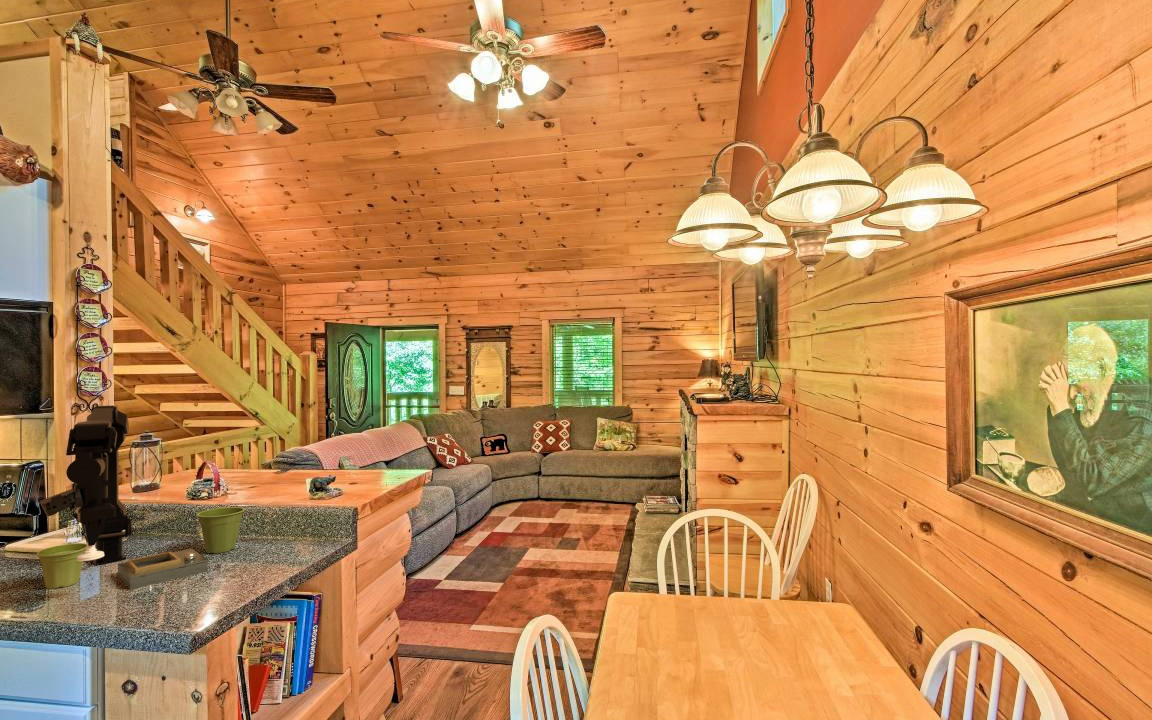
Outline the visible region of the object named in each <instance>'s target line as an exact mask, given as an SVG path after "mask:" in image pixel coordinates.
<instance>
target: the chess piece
mask: <svg viewBox="0 0 1152 720" xmlns="http://www.w3.org/2000/svg"><path fill="white" fill-rule="evenodd" d="M85 535H86V533H85ZM86 544H87V547H86V551H84V552H85V553H82V554H80V555H78V556H77V559H76V560H77V561H83V562H88V561H92V560H94V559H98V558H101V557H103V556H104V552H103V551H96V550H97V549H96V544H95V545H92V546H89V545H88V542H87V543H86Z"/></svg>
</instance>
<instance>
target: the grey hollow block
mask: <svg viewBox="0 0 1152 720" xmlns="http://www.w3.org/2000/svg"><path fill="white" fill-rule="evenodd" d="M208 559H209V558H208ZM208 559H207V557H205V556H204V555H203V554H201V553H199V552H198V551H196V550H195V549H193V548H188V549H183V550H182V549H181V550H178V551H173V552H172V551H168V552H161V553H158V554H152V555H149V556H144V557H138V558H133V559H128V560H126V561H125V562H121V563H118V564H117V577H118V578H119V579H120V580H121V581H122V582H123V583H124V585H125V586H126V587H127V588H128V589H129V590H136V589H140V588H143V587H144V588H145V587H148V586H152V585H157V584H160V583H164V582H168V581H172V580H176V579H181V578H182V579H183V578H184V577H189V576H194V575H198V574H202V573H205V572H209V560H208Z"/></svg>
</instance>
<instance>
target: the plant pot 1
mask: <svg viewBox="0 0 1152 720" xmlns="http://www.w3.org/2000/svg"><path fill="white" fill-rule="evenodd" d="M86 547H87V543H84V542H83V543H82V542H75V543H74V542H73V543H64V544H58V545H54V546H50V547H47V548H44V549H41V550H39V551H37V552H36V556H37V557H38V559H39V562H40V563H41V569H42V570H41V571H42V575H43V582H44V587H45V588H46V589H49V590H50V589H51V590H54V589H55V590H56V589H58V588H63V587H64V588H65V587H71V586H73V585H76V584H77V583H79V582H80V580H81V579H80V578H81V574H82V573H81V572H82V567H83V562H84V561H77V560H76V559H77V556H78V555H80V554H82V553H85V552H84V551H86Z"/></svg>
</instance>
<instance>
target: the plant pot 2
mask: <svg viewBox="0 0 1152 720" xmlns="http://www.w3.org/2000/svg"><path fill="white" fill-rule="evenodd" d="M245 509H246V508H244V507H239V506H238V507H237V506H229V507H228V506H227V507H225V506H224V507H217V508H211V509H207V510H203V511H199V512H198V513H197V514H196V516H197V517H198V520H199V525H200V526H201V532H202V538H203V542H204V549H205V552H206V553H207V554H211V553H212V554H221V553H227V552H229V551H231V550H234V549H235V548H236V545H237V541H238V533H239V529H240V525H241V520H242V518H243V517H242V516H243V513H244V512H245Z"/></svg>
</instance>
